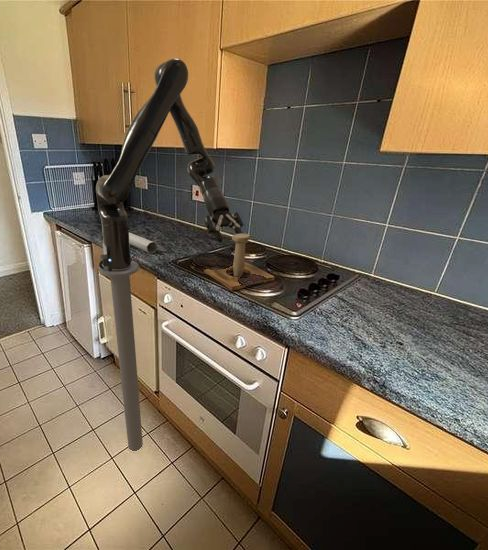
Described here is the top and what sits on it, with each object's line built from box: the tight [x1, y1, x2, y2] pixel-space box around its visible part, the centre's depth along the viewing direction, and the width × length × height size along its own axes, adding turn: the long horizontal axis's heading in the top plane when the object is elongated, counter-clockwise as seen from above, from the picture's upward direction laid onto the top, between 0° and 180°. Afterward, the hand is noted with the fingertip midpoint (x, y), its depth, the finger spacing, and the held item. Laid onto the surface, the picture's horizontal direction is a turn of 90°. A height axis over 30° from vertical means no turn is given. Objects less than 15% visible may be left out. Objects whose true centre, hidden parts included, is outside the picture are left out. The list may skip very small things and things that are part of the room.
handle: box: [231, 233, 251, 277], centre depth 106 cm, size 5×6×15 cm
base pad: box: [203, 261, 275, 292], centre depth 108 cm, size 18×18×2 cm
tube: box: [129, 232, 158, 255], centre depth 138 cm, size 5×5×25 cm
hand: (231, 239), depth 108 cm, fingers open, 8 cm apart
